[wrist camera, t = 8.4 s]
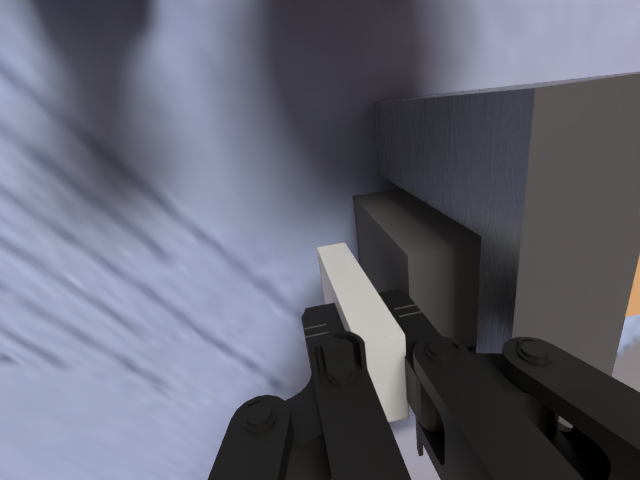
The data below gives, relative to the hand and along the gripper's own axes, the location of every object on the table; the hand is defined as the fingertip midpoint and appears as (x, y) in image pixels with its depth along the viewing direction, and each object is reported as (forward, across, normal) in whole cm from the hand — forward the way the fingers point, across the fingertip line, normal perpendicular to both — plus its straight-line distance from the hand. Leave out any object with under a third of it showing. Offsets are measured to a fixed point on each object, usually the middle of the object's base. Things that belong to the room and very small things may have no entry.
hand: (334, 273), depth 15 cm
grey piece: (+4, +5, 0) cm, 7 cm away
